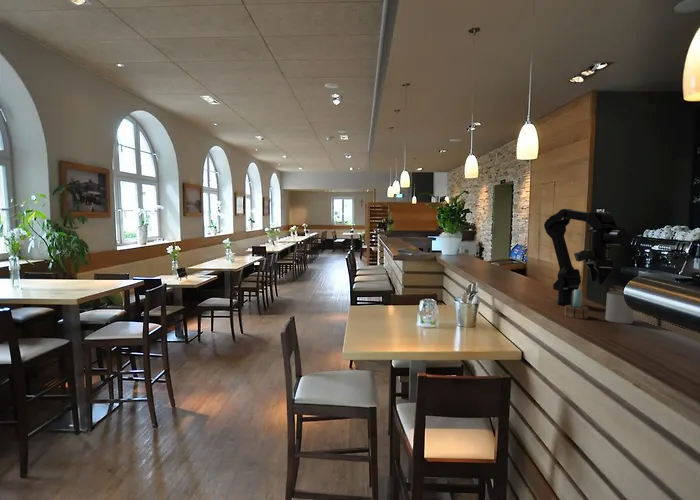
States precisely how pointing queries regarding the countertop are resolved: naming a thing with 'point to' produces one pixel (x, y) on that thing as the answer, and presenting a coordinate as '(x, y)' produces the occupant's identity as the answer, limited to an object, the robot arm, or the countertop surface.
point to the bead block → (576, 312)
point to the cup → (618, 308)
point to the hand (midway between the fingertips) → (596, 282)
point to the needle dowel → (577, 298)
